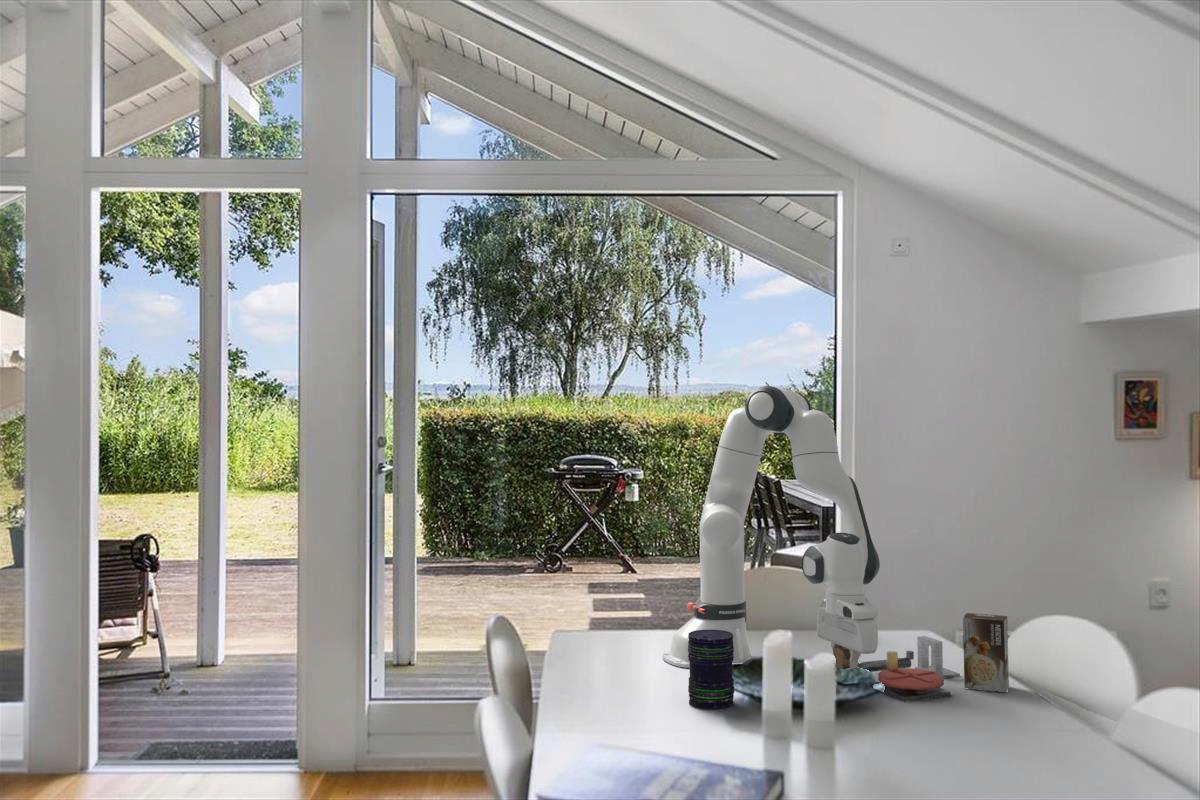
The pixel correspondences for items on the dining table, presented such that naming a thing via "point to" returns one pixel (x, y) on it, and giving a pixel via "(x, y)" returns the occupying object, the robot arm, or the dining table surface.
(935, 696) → the wheel base
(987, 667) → the coffee box
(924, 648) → the eye bracket
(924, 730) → the dining table surface
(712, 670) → the storage jar
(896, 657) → the handwheel
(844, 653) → the hook
